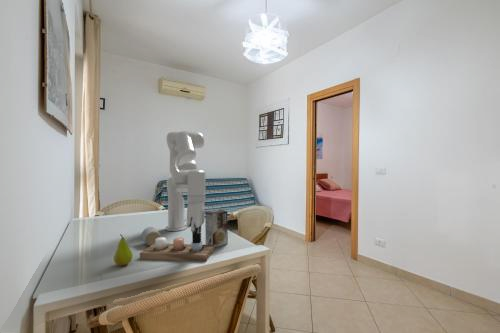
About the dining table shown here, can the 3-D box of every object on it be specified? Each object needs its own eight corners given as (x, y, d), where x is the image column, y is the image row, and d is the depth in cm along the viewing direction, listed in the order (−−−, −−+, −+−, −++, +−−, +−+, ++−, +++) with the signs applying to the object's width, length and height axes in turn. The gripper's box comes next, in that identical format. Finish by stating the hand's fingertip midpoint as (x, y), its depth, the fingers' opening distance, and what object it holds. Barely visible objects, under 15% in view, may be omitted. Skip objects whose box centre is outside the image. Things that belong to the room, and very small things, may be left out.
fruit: (136, 262, 90) (135, 231, 90) (124, 269, 84) (124, 236, 84) (122, 260, 92) (122, 230, 92) (109, 267, 86) (109, 235, 86)
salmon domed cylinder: (176, 246, 100) (175, 237, 101) (185, 247, 100) (185, 237, 100) (171, 250, 96) (171, 240, 96) (181, 250, 96) (181, 241, 96)
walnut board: (155, 248, 106) (155, 243, 106) (214, 250, 102) (214, 244, 102) (139, 258, 94) (139, 252, 94) (206, 261, 91) (206, 255, 91)
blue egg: (193, 249, 100) (193, 240, 100) (203, 250, 99) (203, 240, 99) (189, 253, 95) (189, 243, 95) (200, 253, 95) (200, 244, 95)
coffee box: (220, 240, 116) (220, 209, 116) (228, 243, 111) (228, 210, 112) (204, 245, 110) (204, 211, 110) (212, 248, 105) (212, 213, 105)
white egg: (158, 246, 101) (158, 237, 101) (168, 246, 101) (168, 237, 101) (153, 249, 97) (153, 240, 97) (163, 250, 97) (163, 240, 97)
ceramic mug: (145, 248, 106) (146, 231, 106) (141, 243, 112) (141, 228, 113) (168, 243, 113) (168, 228, 113) (162, 239, 119) (163, 224, 119)
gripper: (194, 197, 105) (194, 237, 105) (180, 201, 90) (181, 248, 90) (210, 197, 104) (210, 237, 104) (199, 201, 89) (199, 249, 89)
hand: (196, 242), depth 97 cm, fingers closed
